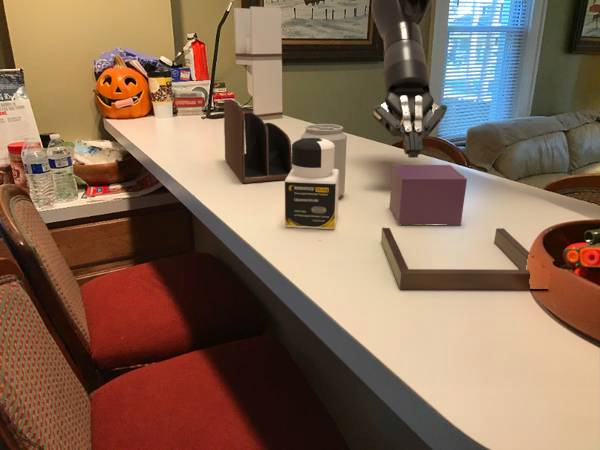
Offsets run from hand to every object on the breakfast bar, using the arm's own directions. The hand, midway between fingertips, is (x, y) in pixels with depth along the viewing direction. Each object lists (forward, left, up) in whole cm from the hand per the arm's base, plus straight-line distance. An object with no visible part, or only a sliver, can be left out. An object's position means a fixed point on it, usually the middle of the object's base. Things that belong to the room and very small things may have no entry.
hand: (414, 155), depth 78 cm
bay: (0, +26, -7) cm, 27 cm away
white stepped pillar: (+33, -91, -8) cm, 97 cm away
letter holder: (+28, -19, -8) cm, 35 cm away
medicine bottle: (+17, +11, -8) cm, 22 cm away
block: (0, +9, -7) cm, 12 cm away
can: (+15, -1, -8) cm, 17 cm away
